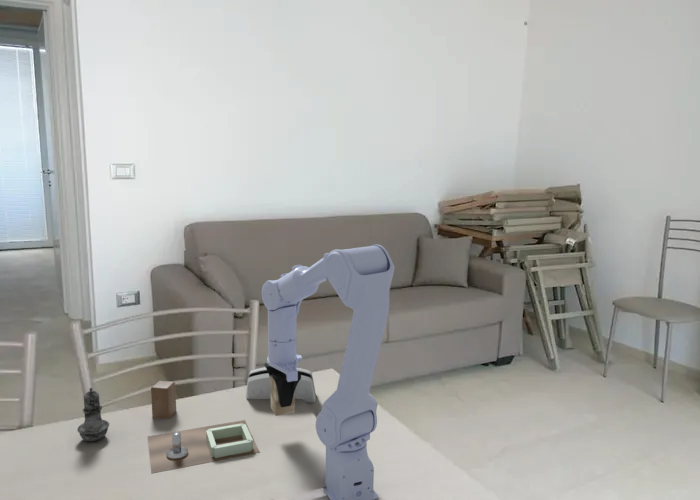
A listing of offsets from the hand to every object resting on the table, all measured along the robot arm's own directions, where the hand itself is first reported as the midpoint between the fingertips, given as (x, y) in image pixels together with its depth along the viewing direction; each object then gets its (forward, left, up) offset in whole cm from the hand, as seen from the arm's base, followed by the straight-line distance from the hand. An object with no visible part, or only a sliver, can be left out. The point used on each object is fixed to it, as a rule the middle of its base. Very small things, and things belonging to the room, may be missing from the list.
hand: (282, 401), depth 114 cm
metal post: (0, +21, -8) cm, 22 cm away
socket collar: (0, +11, -8) cm, 13 cm away
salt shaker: (+12, +36, -9) cm, 39 cm away
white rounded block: (+18, -4, -9) cm, 20 cm away
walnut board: (+2, +16, -8) cm, 18 cm away
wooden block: (+18, +22, -9) cm, 30 cm away
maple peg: (0, 0, -2) cm, 2 cm away
